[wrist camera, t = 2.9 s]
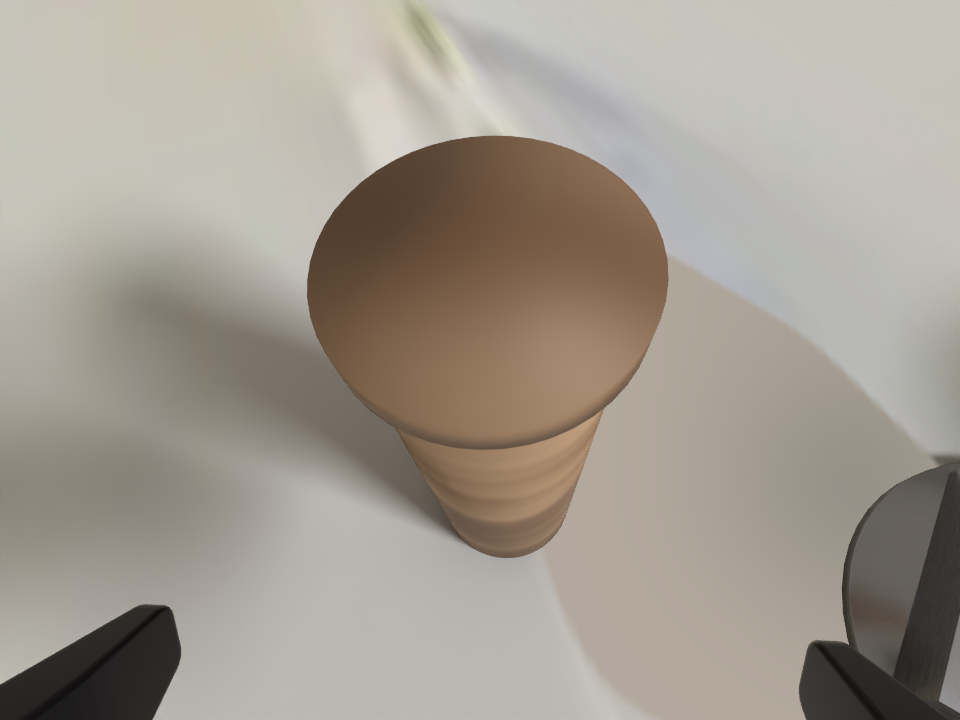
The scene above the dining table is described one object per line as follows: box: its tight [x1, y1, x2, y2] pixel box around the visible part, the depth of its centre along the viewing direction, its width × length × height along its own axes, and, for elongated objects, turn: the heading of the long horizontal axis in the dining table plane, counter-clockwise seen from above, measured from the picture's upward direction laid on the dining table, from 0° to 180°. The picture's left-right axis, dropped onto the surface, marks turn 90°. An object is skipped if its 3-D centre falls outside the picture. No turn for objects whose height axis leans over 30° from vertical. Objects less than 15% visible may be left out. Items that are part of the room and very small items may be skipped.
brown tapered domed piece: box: [307, 136, 668, 558], centre depth 14 cm, size 5×5×14 cm
